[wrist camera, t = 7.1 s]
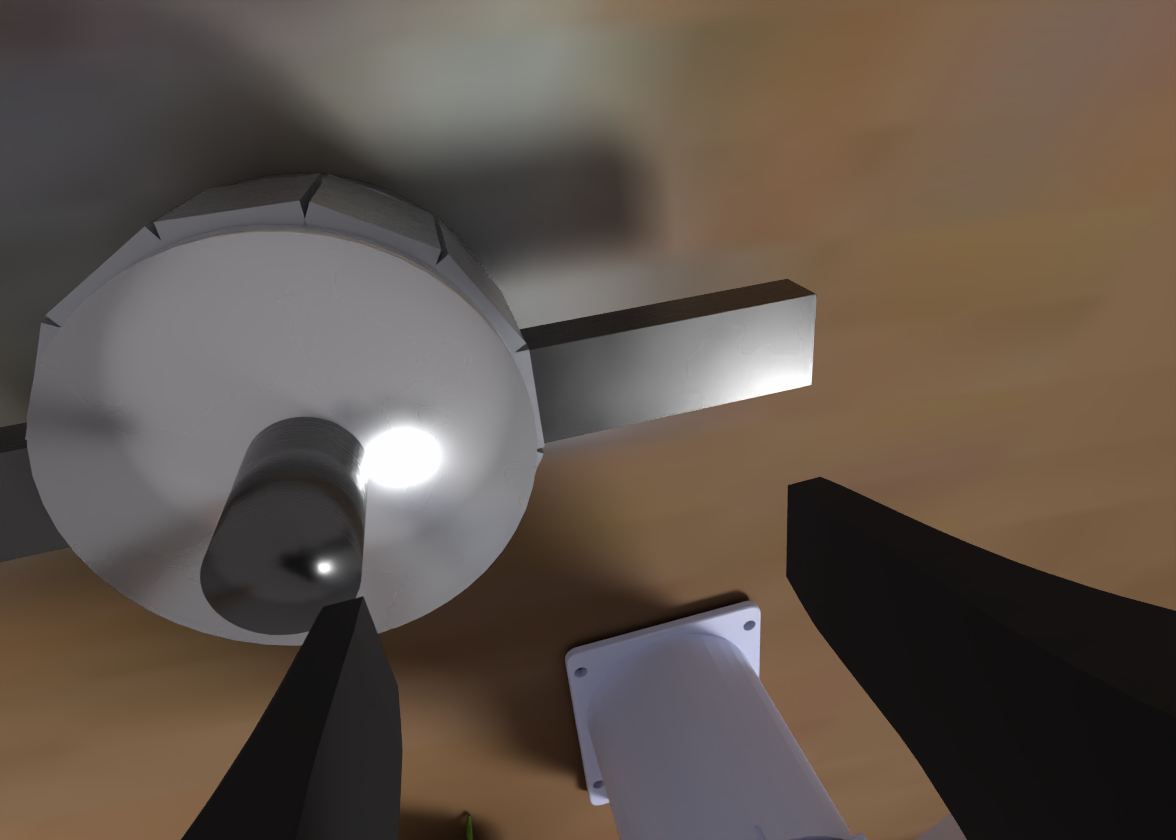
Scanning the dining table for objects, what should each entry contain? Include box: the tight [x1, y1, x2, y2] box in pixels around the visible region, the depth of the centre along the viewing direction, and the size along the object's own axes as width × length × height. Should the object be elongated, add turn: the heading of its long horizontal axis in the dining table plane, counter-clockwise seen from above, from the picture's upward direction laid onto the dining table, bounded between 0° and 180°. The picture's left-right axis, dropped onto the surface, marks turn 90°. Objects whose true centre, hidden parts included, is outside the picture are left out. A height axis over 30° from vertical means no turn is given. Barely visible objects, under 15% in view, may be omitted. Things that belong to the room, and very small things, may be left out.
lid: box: [27, 224, 537, 646], centre depth 13 cm, size 10×10×5 cm
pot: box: [0, 173, 817, 562], centre depth 17 cm, size 10×20×5 cm, turn 96°
